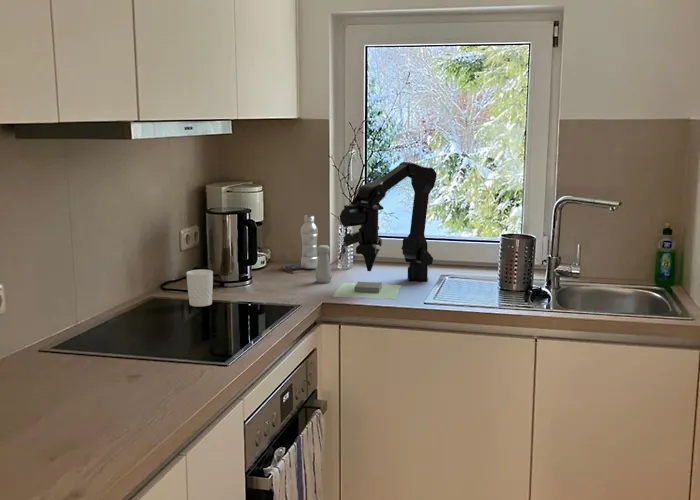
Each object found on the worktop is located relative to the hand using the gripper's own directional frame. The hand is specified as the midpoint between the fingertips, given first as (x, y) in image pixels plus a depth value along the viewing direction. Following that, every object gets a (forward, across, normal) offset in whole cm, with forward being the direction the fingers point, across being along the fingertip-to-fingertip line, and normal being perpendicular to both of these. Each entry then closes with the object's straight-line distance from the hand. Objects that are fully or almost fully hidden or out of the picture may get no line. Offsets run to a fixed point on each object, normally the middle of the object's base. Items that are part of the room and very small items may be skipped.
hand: (369, 271), depth 247 cm
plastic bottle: (+7, -32, -27) cm, 42 cm away
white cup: (+7, +28, -48) cm, 56 cm away
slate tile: (+5, -2, 0) cm, 6 cm away
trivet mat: (+6, +2, 0) cm, 7 cm away
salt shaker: (+7, -8, -17) cm, 20 cm away
